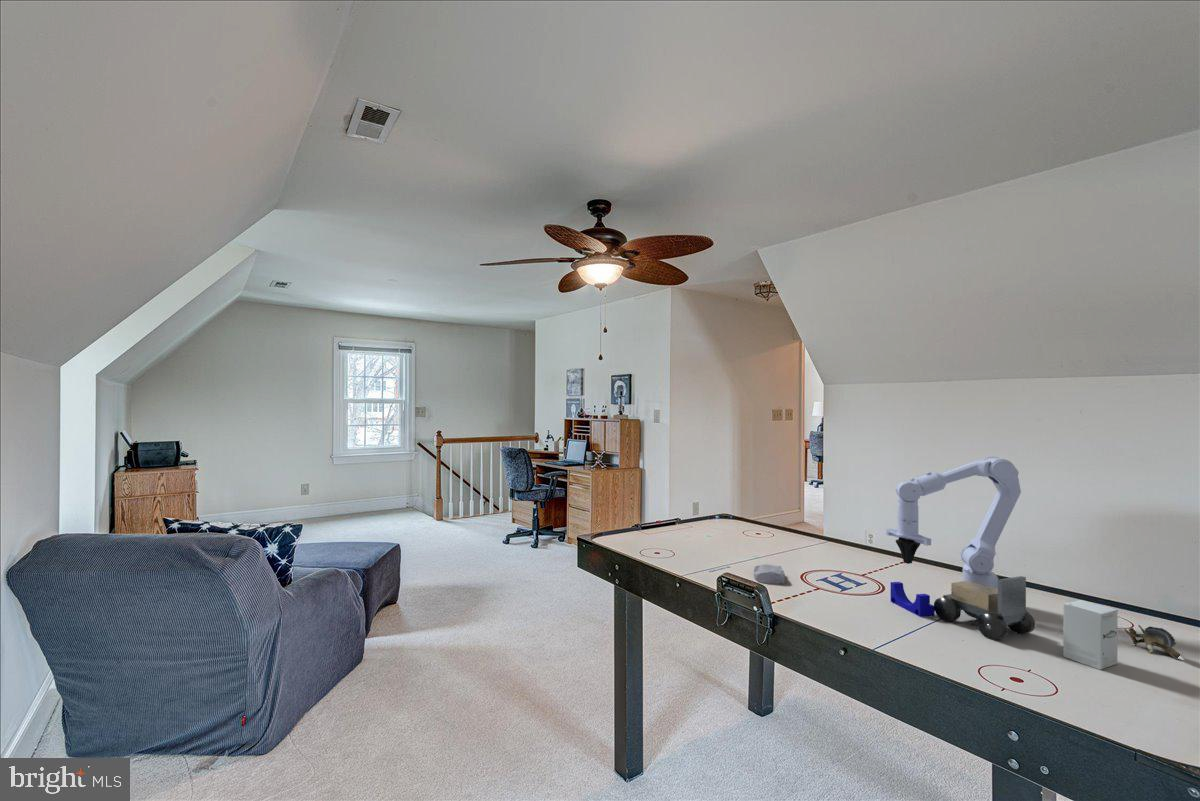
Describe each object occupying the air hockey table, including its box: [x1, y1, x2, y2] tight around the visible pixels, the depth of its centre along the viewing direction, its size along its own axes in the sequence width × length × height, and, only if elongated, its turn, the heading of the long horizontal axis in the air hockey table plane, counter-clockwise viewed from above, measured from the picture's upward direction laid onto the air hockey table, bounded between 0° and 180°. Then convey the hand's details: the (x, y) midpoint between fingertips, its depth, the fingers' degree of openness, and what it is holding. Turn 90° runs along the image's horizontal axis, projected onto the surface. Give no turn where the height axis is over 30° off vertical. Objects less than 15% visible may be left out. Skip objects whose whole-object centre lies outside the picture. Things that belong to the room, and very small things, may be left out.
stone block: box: [752, 564, 786, 585], centre depth 183 cm, size 12×5×10 cm
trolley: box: [933, 575, 1036, 640], centre depth 143 cm, size 13×18×15 cm
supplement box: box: [1062, 599, 1119, 671], centre depth 124 cm, size 7×7×13 cm
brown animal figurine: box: [1123, 624, 1181, 659], centre depth 129 cm, size 8×7×9 cm
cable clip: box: [890, 581, 936, 618], centre depth 156 cm, size 12×4×6 cm, turn 9°
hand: (907, 562), depth 169 cm, fingers closed
